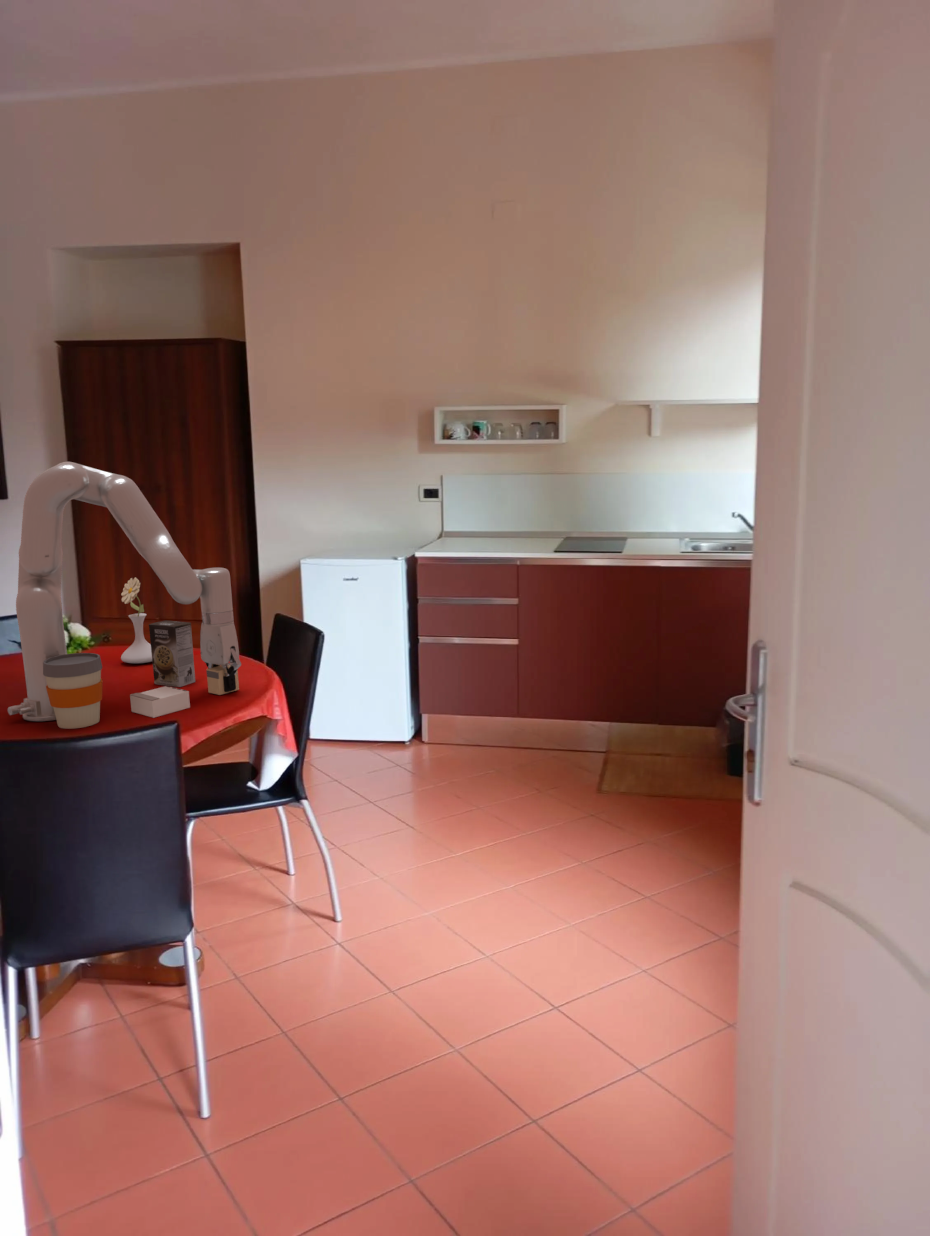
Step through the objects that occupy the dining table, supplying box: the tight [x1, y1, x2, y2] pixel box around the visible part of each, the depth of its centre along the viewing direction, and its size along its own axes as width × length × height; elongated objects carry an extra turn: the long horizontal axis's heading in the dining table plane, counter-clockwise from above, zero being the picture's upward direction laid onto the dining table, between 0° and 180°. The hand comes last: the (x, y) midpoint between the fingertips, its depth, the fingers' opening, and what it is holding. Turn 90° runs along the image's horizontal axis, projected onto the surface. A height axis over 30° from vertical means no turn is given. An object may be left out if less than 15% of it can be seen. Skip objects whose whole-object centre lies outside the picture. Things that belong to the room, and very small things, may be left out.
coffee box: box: [148, 620, 196, 688], centre depth 258 cm, size 9×6×16 cm
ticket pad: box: [129, 685, 191, 719], centre depth 234 cm, size 10×9×4 cm
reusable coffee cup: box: [43, 652, 103, 730], centre depth 225 cm, size 13×13×15 cm
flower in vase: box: [120, 577, 152, 665], centre depth 282 cm, size 13×11×25 cm
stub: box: [206, 665, 240, 696], centre depth 248 cm, size 6×4×6 cm
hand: (223, 688), depth 248 cm, fingers closed on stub, 4 cm apart
